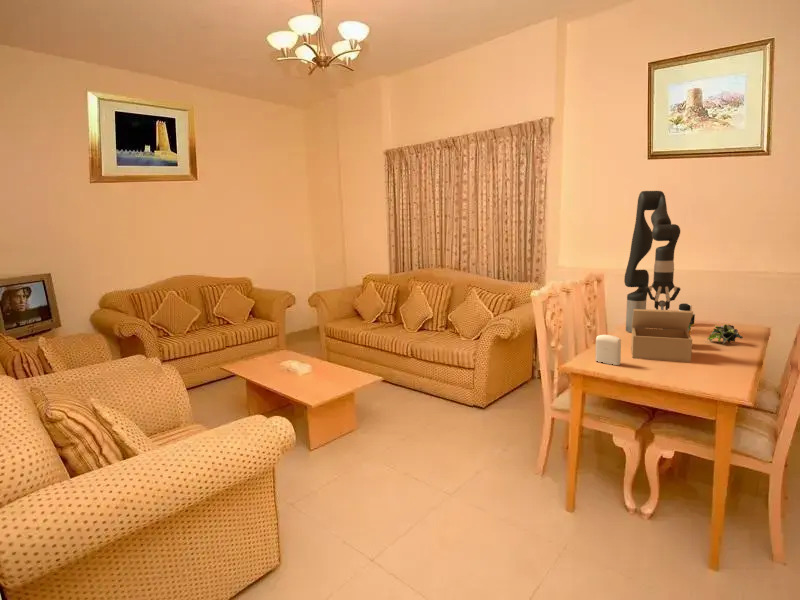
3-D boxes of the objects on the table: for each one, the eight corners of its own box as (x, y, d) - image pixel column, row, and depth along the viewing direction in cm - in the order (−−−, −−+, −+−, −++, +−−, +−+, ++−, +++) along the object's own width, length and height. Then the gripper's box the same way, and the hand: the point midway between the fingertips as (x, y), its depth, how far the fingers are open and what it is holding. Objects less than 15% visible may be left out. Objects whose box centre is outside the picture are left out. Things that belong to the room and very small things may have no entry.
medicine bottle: (680, 326, 249) (681, 305, 247) (674, 323, 256) (675, 302, 254) (694, 326, 248) (695, 305, 245) (688, 323, 254) (689, 302, 252)
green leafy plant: (727, 352, 218) (747, 334, 213) (723, 354, 210) (743, 335, 205) (706, 336, 224) (725, 318, 219) (701, 337, 217) (720, 318, 211)
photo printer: (593, 361, 198) (594, 334, 196) (597, 359, 201) (598, 332, 199) (618, 366, 191) (619, 338, 189) (621, 363, 194) (623, 336, 192)
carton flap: (631, 327, 214) (631, 315, 217) (687, 330, 204) (686, 317, 207) (633, 310, 201) (633, 298, 204) (693, 312, 192) (692, 299, 195)
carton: (631, 348, 215) (632, 327, 214) (685, 351, 206) (686, 330, 204) (632, 357, 201) (633, 336, 199) (690, 362, 192) (692, 339, 190)
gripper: (681, 269, 198) (679, 308, 201) (645, 269, 204) (643, 307, 207) (683, 271, 191) (681, 311, 194) (646, 271, 197) (644, 310, 200)
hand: (661, 309), depth 200 cm, fingers closed on carton flap, 3 cm apart
